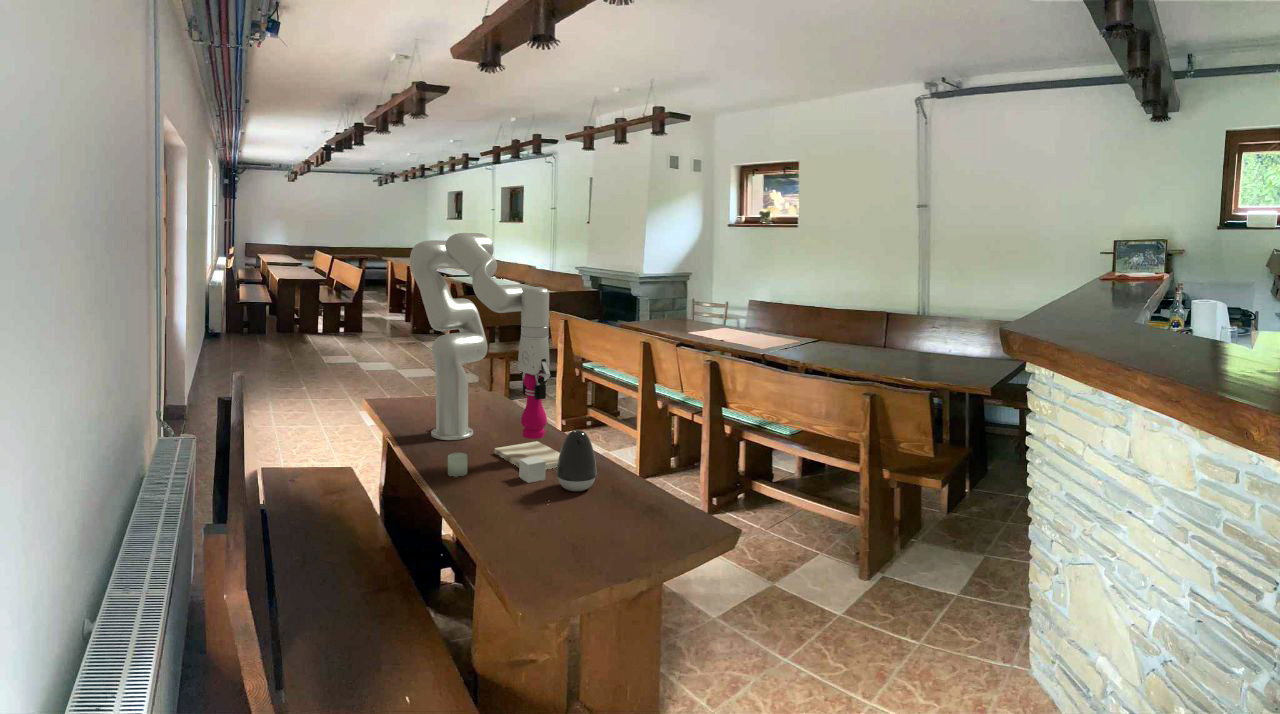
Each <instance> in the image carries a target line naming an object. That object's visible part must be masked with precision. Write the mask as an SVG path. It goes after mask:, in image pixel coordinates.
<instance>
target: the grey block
mask: <svg viewBox="0 0 1280 714" xmlns="http://www.w3.org/2000/svg"><path fill="white" fill-rule="evenodd" d="M518 468H519V470H518V471H519V472H518V478H519V477H520V478H519V479H521V480H523V481H524V482H525V483H528V484H530V483H536V482H540V480H541V481H544V480H546V471H547V470H546V461H544V460H542V459H540V458H538V457H530V458H524V459H519V467H518Z"/></svg>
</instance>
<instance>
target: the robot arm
mask: <svg viewBox="0 0 1280 714" xmlns="http://www.w3.org/2000/svg"><path fill="white" fill-rule="evenodd" d="M494 248H495V247H494V243H493V242H492V240H491V238H489V236H488V235H487V234H484V233H480V232H478V233H477V232H457V233H455V234H454V233H453V234H452V235H450V236H449V237H448V238H447V239H446V240H443V239H442V240H437V239H436V240H434V239H433V240H424V241H421V242H419V243H417V244H415V245H414V246H413V247H412V249H411V251H410V255H409V267H410V270H411V274H412V277H413V278H414V280H415V282H416V284H417V287H418V289H419V292H420V295H421V299H422V303H423V306H424V309H425V312H426V317H427V319H428V322H429V325H430V327H431V328H432V329H433V330H434V331H438V332H439V331H440V332H442V331H443V332H444V331H452V330H453V331H454V330H455V331H456V330H459V332H453V333H445V334H442V335H440V336H438V337H437V338H436V339H435V340H434V341H433V343H432V344H431V345H432V347H431V354H432V357H433V358H432V359H433V363H434V364H433V365H434V370H435V373H434V374H435V406H436V407H435V413H436V415H435V417H436V419H435V420H436V421H435V423H436V426H435V427H436V428H433V429H432V430H431V431H430V433H431V434H430V435H431V437H432V438H433V439H436V440H442V441H458V440H464V439H469V438H470V437H472V436H473V435H474V430H473V429H472V428H471V427H469V380H468V379H469V378H468V374H467V372H466V371H465V369H464V367H463V365H464V364H467V363H468V364H469V363H473V362H478V361H481V360H483V359H484V358H485V357H486V356H487V354H488V340H487V337H486V332H485V331H484V330H485V329H484V327H483V323H482V320H481V316H480V313H479V310H478V308H477V306H476V305H475V304H474V302H473V301H471V300H470V299H468V298H462V297H461V298H460V297H459V298H453V295H452V294H451V292H450V287H449V284H448V282H447V281H446V279H445V278H444V277H443V276H442V274H441V273H440V272H438V271H437V269H441V270H442V269H444V270H445V269H462V270H463V271H464V272H465V273H466V274H467V275H469V276H470V278H472V280H471V283H472V288H473V291H474V294H475V296H476V298H477V299H478V300H479V301H480V302H481V303H482V304H483V305H484V306H486V307H487V308H488V309H490V310H491V311H492V312H494V313H497V314H503V313H512V312H513V313H514V312H515V313H516V312H521V313H520V316H521V317H520V326H521V327H520V339H519V343H518V345H519V346H518V359H517V361H518V362H517V368H518V370H519V371H520V373H521V375H522V377H521V379H522V395H526V394H525V392H526V391H525V389H526V386H525V385H524V377H525V375H526V374H530V375H535V380H536V385H535V399H536V400H538V399H542V400H545V399H546V395H547V394H546V393H547V390H546V389H547V385H548V380H549V379H550V377H551V373H550V348H549V347H550V346H549V337H550V335H549V334H550V333H549V331H550V329H549V328H550V326H549V325H550V324H549V323H550V291H549V290H548V288H546V287H540V286H532V285H528V284H523V283H519V284H514V283H513V284H500V285H499V284H498V283H496V281H494V280H493V279H492V277H494V275H495V273H496V271H497V269H498V262H497V260H496V258H495V257H494V256H493V254H494V251H495V250H494ZM539 372H540V374H538V373H539ZM539 376H542V377H541V378H540V380H539ZM526 396H527V395H526Z"/></svg>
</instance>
